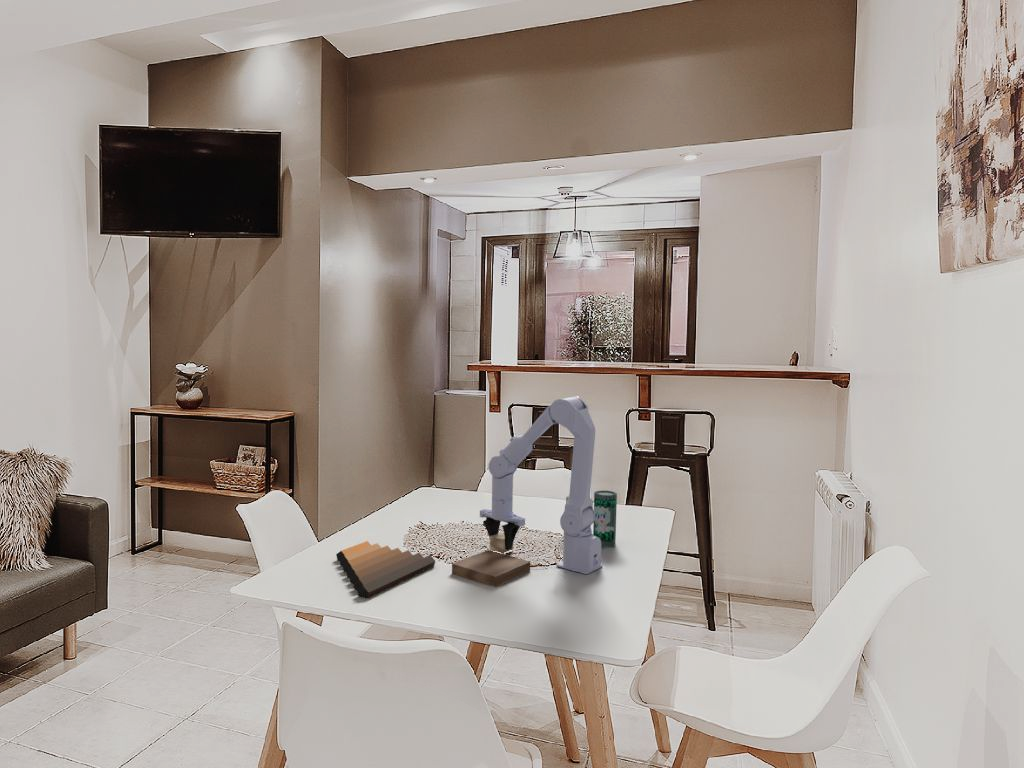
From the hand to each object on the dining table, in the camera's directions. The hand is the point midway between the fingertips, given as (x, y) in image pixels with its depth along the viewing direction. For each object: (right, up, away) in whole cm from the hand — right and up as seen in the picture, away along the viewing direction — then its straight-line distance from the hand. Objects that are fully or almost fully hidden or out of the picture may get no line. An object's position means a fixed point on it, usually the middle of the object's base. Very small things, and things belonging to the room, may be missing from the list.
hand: (501, 547), depth 184 cm
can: (+30, -2, +9) cm, 31 cm away
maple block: (0, -1, 0) cm, 1 cm away
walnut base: (-2, -3, -16) cm, 16 cm away
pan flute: (-34, -3, -17) cm, 38 cm away
